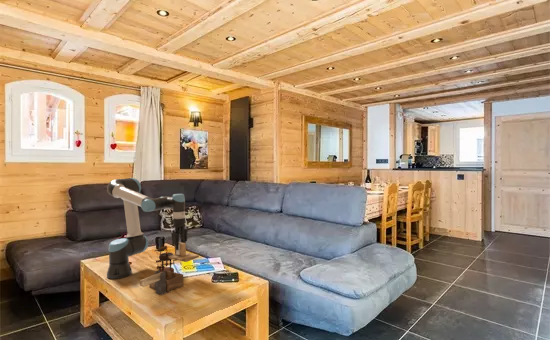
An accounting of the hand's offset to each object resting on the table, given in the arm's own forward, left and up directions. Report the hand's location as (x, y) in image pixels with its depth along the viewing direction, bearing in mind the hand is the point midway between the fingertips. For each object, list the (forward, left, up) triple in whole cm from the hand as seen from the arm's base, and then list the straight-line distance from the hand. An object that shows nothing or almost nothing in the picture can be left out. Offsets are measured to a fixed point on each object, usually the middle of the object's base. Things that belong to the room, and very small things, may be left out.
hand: (180, 253), depth 203 cm
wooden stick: (+7, -27, -8) cm, 29 cm away
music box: (-13, 0, -16) cm, 21 cm away
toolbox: (+3, -16, -16) cm, 23 cm away
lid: (+3, 0, -2) cm, 4 cm away
